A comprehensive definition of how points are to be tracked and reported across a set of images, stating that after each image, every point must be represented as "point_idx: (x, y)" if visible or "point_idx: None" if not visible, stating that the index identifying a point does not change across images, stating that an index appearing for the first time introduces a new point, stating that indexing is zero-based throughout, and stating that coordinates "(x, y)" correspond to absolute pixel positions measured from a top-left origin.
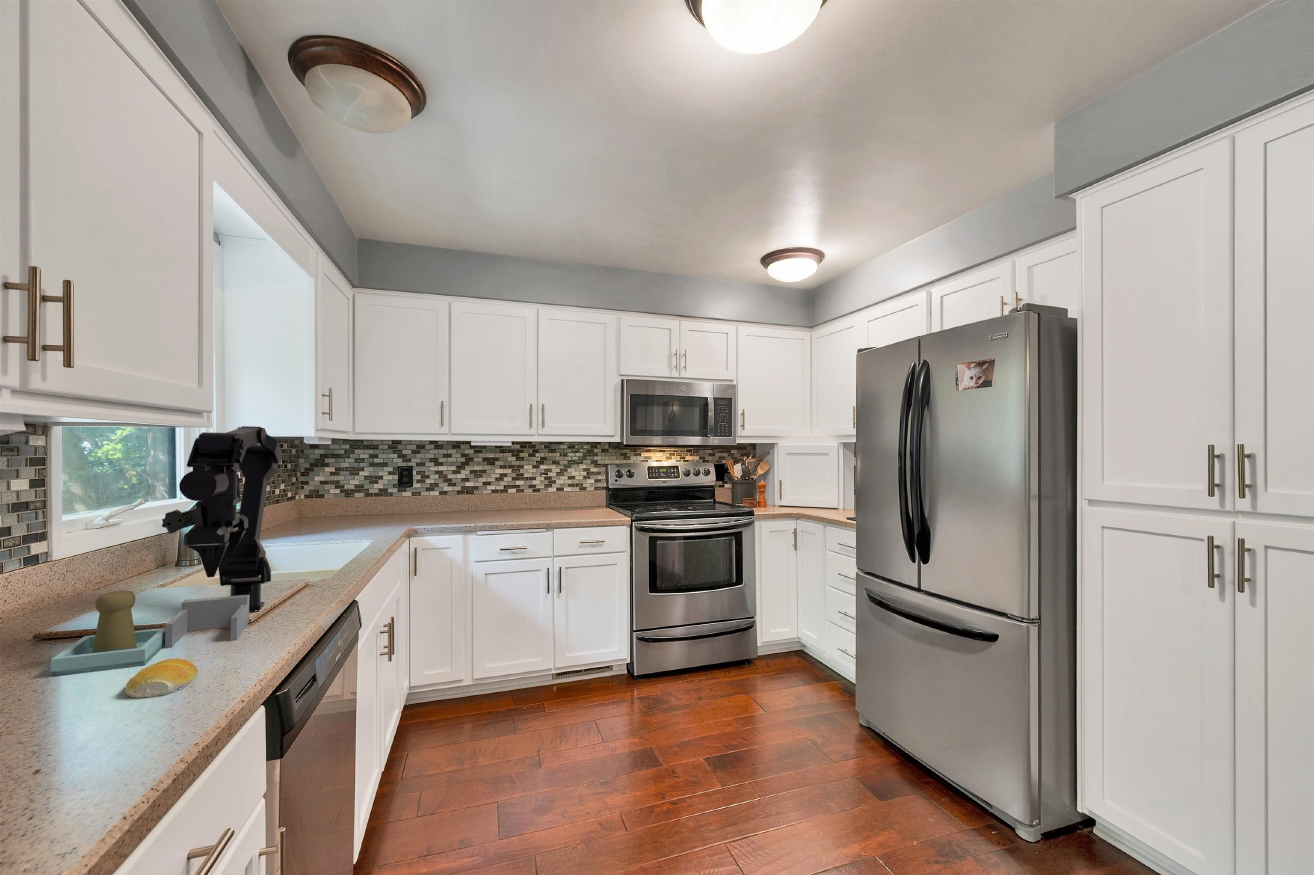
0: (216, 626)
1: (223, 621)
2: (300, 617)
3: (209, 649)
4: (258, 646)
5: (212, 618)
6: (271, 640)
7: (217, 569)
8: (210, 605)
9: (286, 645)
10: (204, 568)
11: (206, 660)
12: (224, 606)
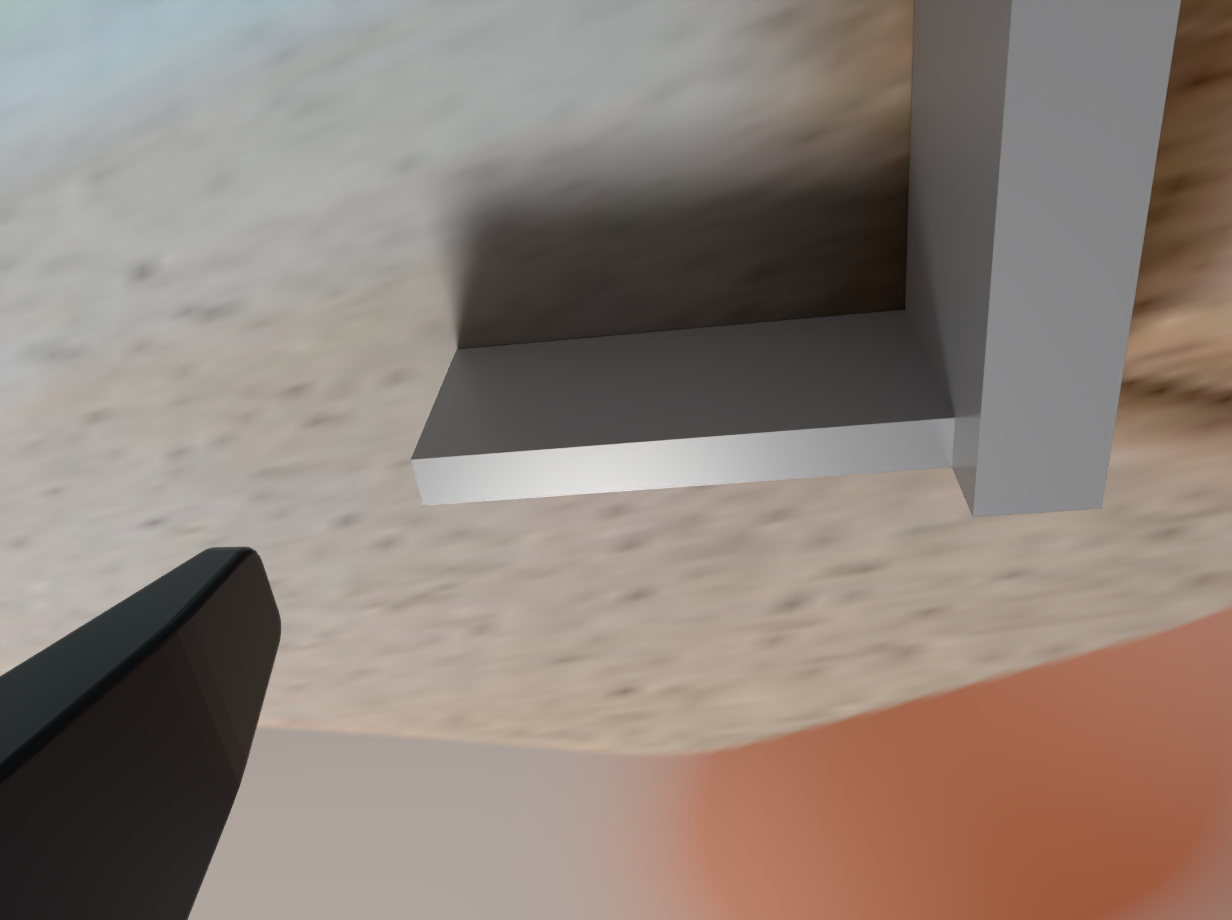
0: (912, 108)
1: (926, 184)
2: (973, 675)
3: (257, 256)
4: (290, 561)
5: (935, 89)
6: (413, 607)
7: (228, 778)
8: (983, 103)
9: (291, 700)
10: (25, 664)
11: (4, 321)
12: (962, 253)
